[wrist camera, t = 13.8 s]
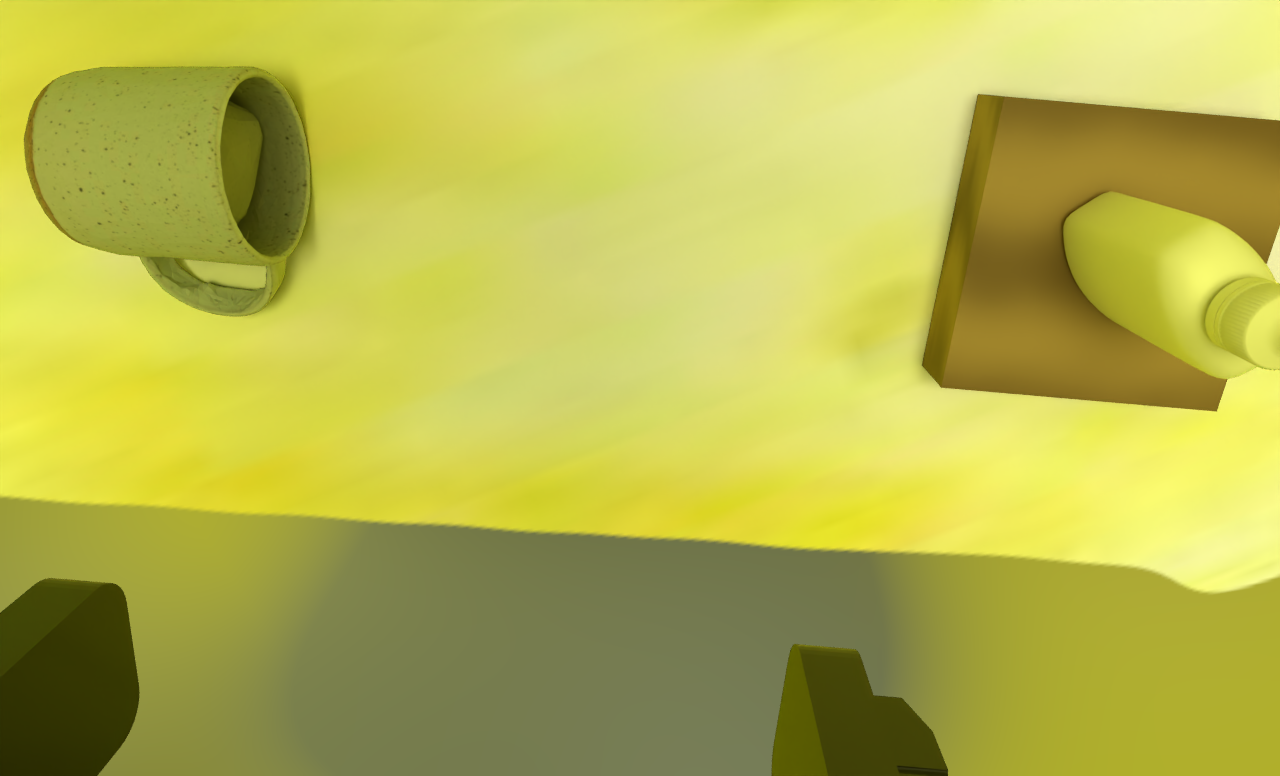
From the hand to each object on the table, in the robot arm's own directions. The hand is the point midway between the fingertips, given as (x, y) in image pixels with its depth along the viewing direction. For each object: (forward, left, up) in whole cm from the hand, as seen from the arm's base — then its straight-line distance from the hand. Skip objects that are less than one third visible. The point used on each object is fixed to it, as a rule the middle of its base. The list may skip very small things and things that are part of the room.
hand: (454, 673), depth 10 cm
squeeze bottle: (-1, +21, -27) cm, 34 cm away
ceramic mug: (0, -17, -30) cm, 35 cm away
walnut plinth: (-1, +21, -30) cm, 37 cm away
